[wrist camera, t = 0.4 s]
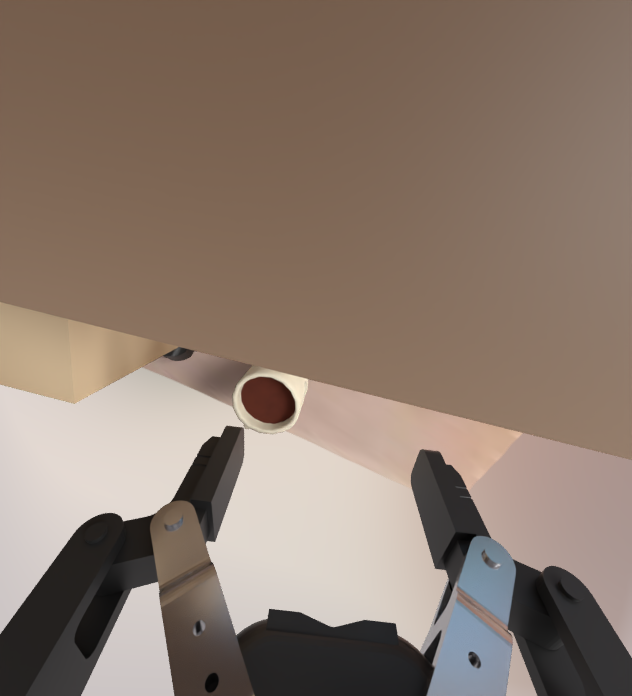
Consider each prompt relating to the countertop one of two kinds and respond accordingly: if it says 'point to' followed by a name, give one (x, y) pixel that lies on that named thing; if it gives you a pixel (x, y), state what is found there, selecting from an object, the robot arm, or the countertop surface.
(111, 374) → the stand
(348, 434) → the countertop surface
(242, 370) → the countertop surface
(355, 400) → the countertop surface
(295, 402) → the character mug
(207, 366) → the countertop surface
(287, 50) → the rod
